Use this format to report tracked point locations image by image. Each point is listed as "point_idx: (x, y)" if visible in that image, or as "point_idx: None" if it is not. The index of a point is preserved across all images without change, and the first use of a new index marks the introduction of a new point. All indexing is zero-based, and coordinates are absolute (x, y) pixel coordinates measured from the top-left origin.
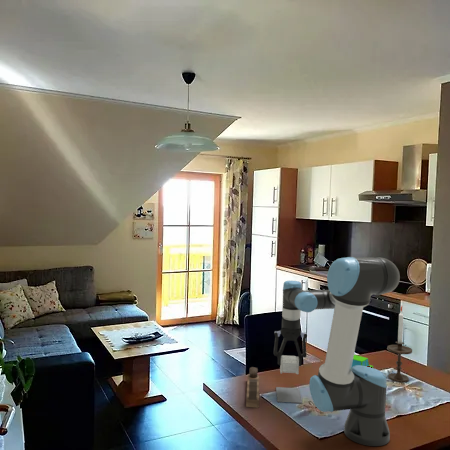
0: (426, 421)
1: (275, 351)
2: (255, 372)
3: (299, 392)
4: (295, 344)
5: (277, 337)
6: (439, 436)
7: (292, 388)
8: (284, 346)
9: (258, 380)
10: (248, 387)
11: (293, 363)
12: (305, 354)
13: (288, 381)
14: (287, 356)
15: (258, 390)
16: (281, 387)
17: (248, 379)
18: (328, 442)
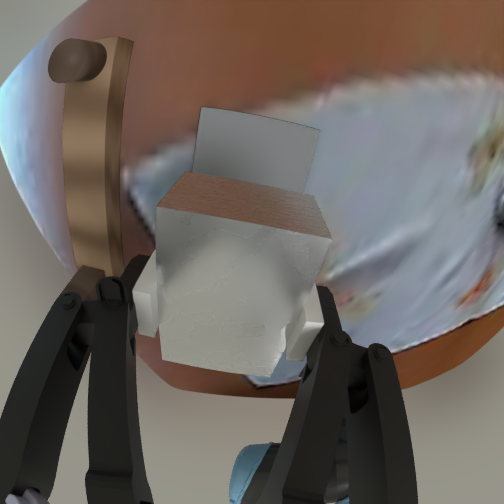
0: (481, 335)
1: (71, 363)
2: (78, 78)
3: (305, 176)
4: (266, 487)
5: (42, 490)
6: (452, 368)
7: (285, 127)
8: (138, 441)
9: (104, 108)
10: (69, 191)
11: (238, 372)
12: (360, 397)
13: (293, 31)
14: (219, 246)
15: (104, 220)
16: (229, 111)
17: (66, 104)
18: (270, 394)
